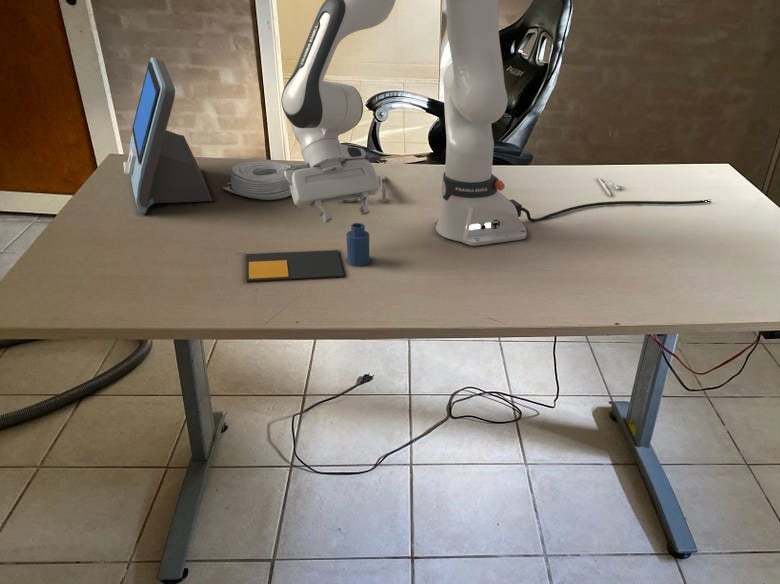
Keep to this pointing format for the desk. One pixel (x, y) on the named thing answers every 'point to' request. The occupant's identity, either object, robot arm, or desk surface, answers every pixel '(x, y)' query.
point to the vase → (358, 245)
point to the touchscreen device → (161, 148)
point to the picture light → (606, 187)
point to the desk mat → (293, 266)
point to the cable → (259, 180)
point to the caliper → (383, 187)
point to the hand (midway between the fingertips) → (347, 217)
